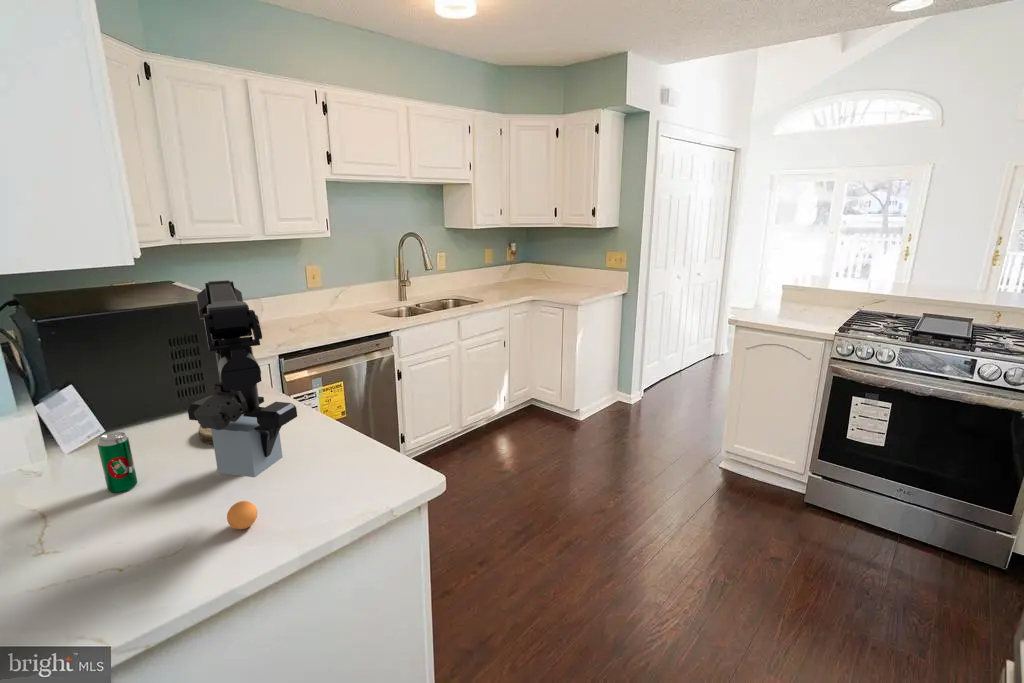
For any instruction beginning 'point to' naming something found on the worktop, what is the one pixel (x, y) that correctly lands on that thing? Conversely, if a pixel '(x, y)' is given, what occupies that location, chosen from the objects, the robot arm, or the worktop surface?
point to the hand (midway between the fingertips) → (248, 453)
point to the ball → (242, 515)
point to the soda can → (117, 462)
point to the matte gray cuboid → (243, 449)
